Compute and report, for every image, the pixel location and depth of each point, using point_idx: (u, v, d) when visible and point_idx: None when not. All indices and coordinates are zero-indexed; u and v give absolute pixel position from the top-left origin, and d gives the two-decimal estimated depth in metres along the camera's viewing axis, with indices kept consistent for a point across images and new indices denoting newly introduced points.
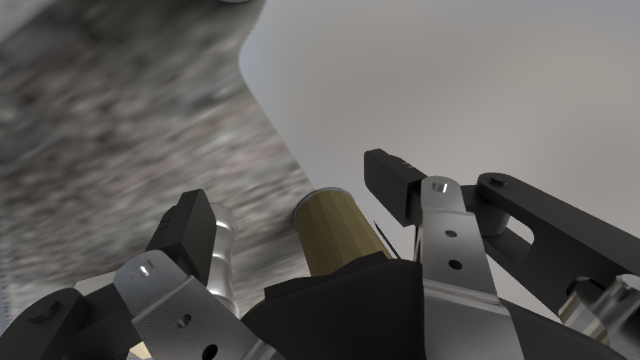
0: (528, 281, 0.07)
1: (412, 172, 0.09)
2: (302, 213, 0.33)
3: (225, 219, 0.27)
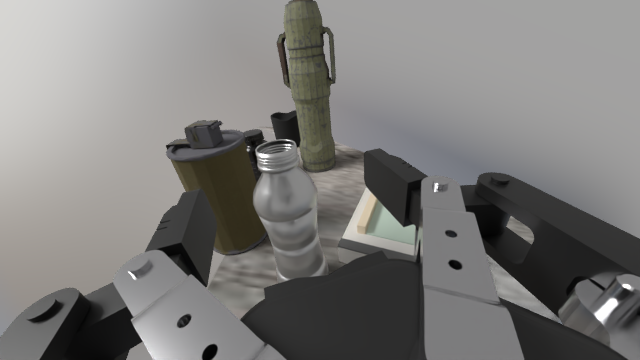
0: (528, 281, 0.07)
1: (412, 172, 0.09)
2: (242, 241, 0.36)
3: (276, 271, 0.28)
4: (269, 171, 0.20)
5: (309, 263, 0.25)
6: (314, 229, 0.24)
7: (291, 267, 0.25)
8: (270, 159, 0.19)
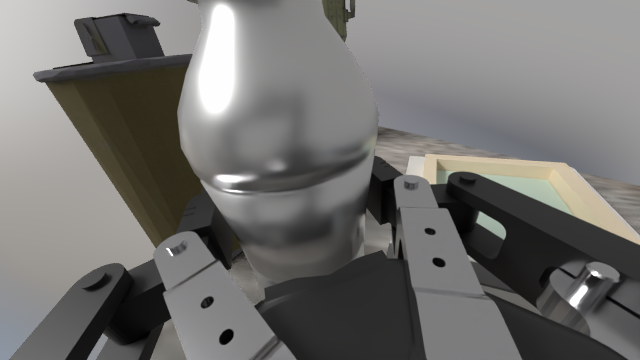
0: (503, 274, 0.07)
1: (387, 171, 0.09)
2: None
3: None
4: None
5: None
6: (362, 223, 0.09)
7: None
8: None
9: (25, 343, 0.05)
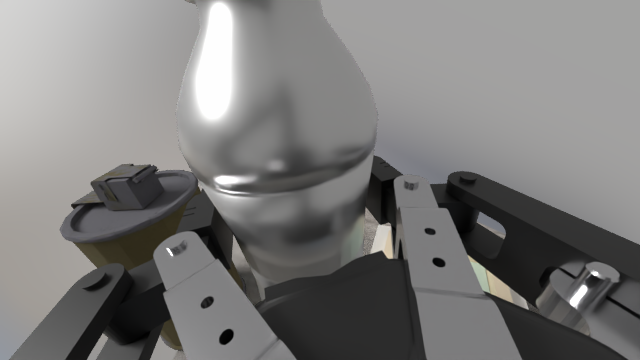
0: (503, 274, 0.07)
1: (387, 171, 0.09)
2: None
3: None
4: None
5: None
6: (361, 223, 0.09)
7: None
8: None
9: (25, 343, 0.05)
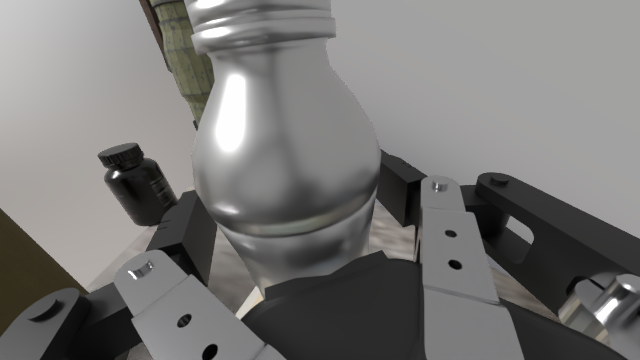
0: (527, 280, 0.07)
1: (412, 172, 0.09)
2: None
3: None
4: (226, 36, 0.05)
5: None
6: (366, 250, 0.09)
7: None
8: None
9: None
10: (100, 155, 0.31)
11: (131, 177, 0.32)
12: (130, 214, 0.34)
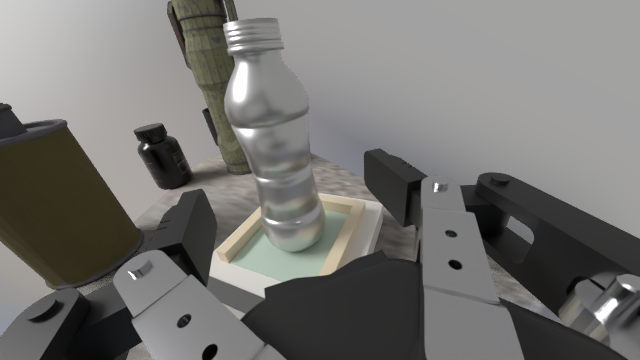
0: (528, 281, 0.07)
1: (412, 172, 0.09)
2: (74, 272, 0.26)
3: None
4: (241, 49, 0.15)
5: (300, 198, 0.20)
6: (305, 151, 0.19)
7: (277, 203, 0.20)
8: (241, 28, 0.14)
9: None
10: (136, 131, 0.41)
11: (159, 148, 0.42)
12: (156, 179, 0.44)
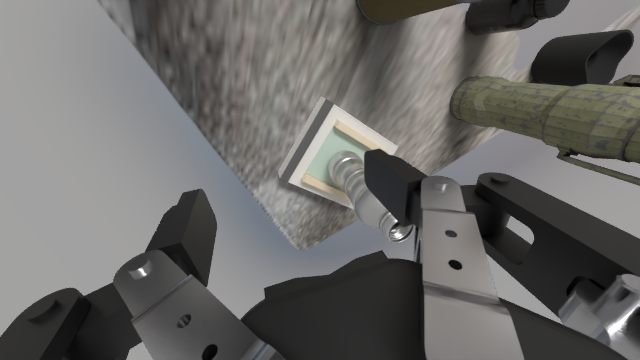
0: (528, 281, 0.07)
1: (412, 172, 0.09)
2: None
3: (348, 155, 0.38)
4: (382, 219, 0.27)
5: (340, 187, 0.37)
6: None
7: (341, 176, 0.36)
8: (386, 227, 0.26)
9: None
10: None
11: (513, 14, 0.33)
12: None
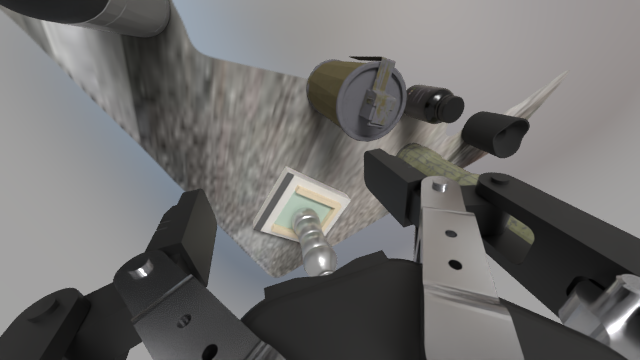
0: (528, 281, 0.07)
1: (412, 172, 0.09)
2: (311, 99, 0.43)
3: (305, 214, 0.49)
4: None
5: None
6: None
7: (298, 233, 0.47)
8: None
9: None
10: (447, 103, 0.40)
11: (425, 116, 0.44)
12: (410, 94, 0.48)
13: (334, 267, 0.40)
